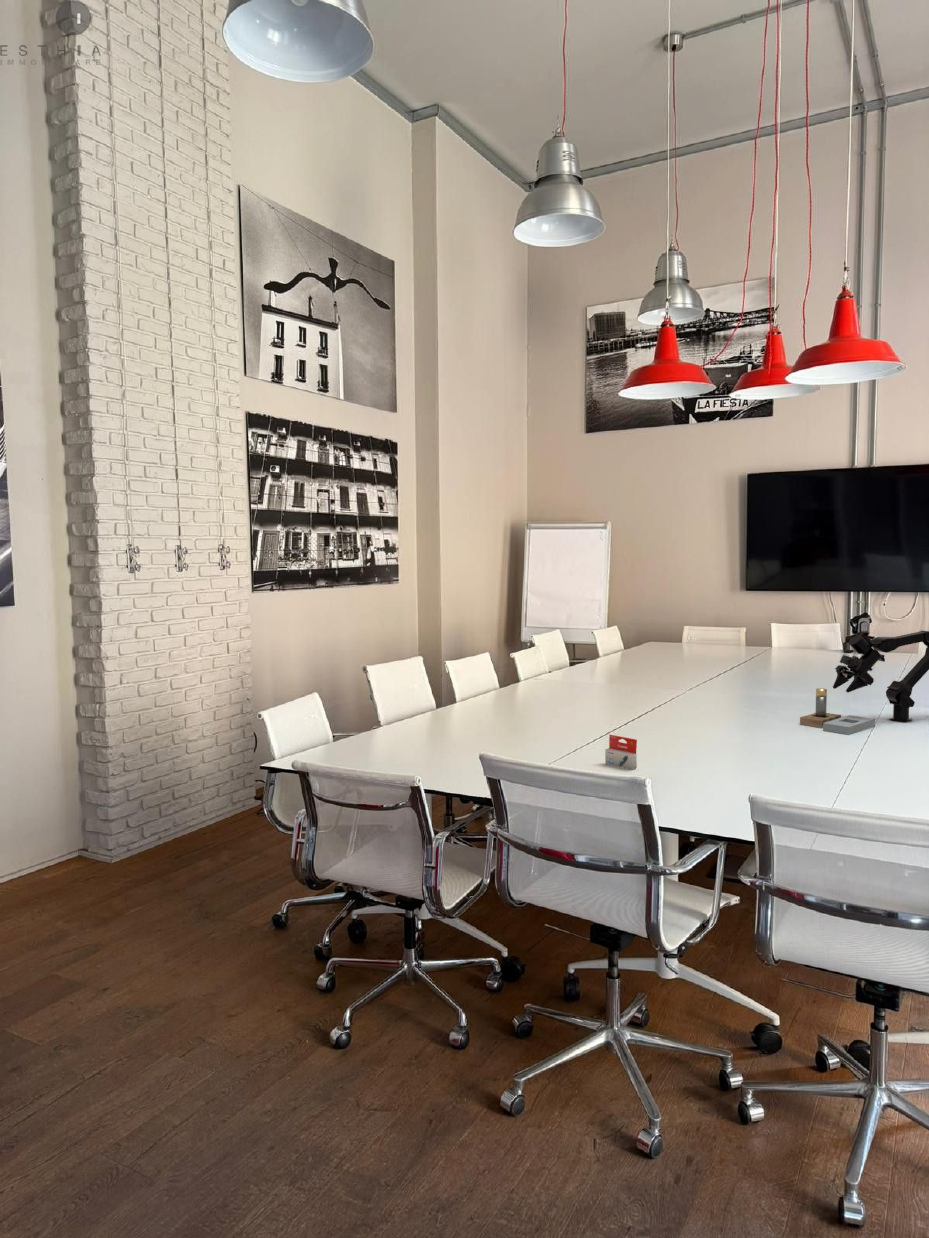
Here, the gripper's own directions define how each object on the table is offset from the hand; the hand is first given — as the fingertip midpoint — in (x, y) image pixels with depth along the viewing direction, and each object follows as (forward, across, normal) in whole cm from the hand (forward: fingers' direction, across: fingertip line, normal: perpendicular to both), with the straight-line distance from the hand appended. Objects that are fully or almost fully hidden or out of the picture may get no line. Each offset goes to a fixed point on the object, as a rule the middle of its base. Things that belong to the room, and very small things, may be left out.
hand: (840, 689), depth 330 cm
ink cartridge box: (+85, +50, -66) cm, 119 cm away
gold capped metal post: (+15, 0, +4) cm, 16 cm away
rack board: (+11, +11, +8) cm, 17 cm away
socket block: (+15, 0, +4) cm, 16 cm away
